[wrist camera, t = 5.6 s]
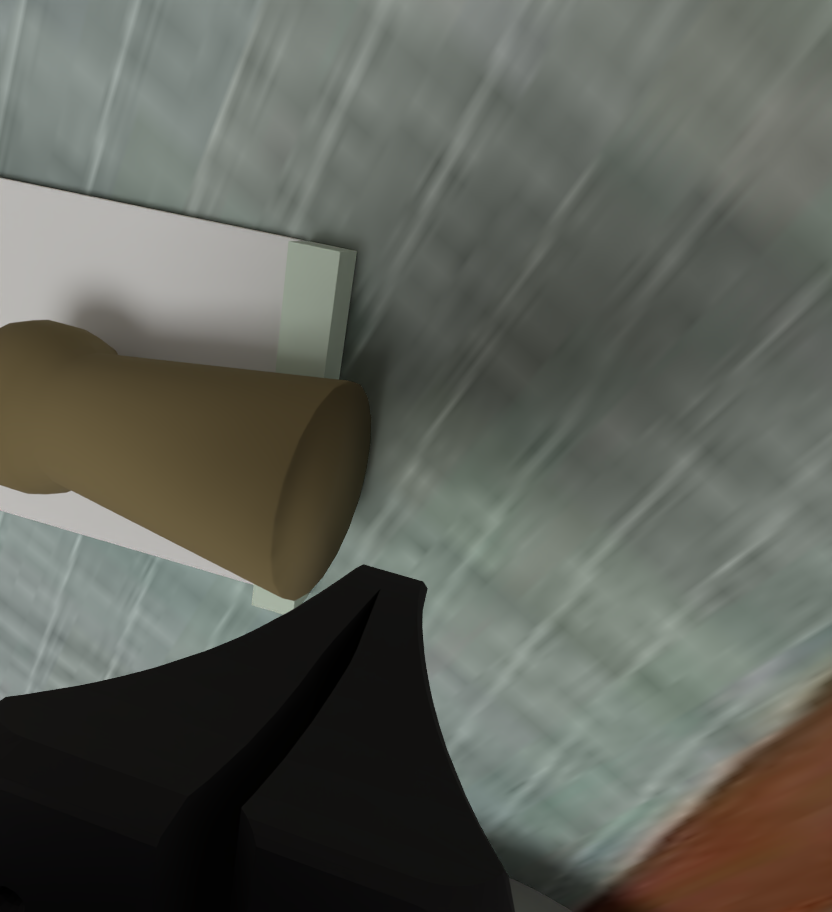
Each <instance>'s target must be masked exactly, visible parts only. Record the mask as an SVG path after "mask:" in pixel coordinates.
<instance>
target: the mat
mask: <svg viewBox="0 0 832 912" xmlns="http://www.w3.org/2000/svg"><path fill="white" fill-rule="evenodd" d="M289 241H304V240H301V239H296V238H291V237H286V236H282V235H277V234H272V233H267V232H262V231H257V230H253V229H248V228H243V227H238V226H233V225H228V224H224V223H219V222H214V221H209V220H204V219H199V218H195V217H190V216H185V215H180V214H175V213H170V212H166V211H161V210H156V209H151V208H146V207H141V206H137V205H132V204H127V203H122V202H117V201H112V200H108V199H103V198H98V197H93V196H88V195H83V194H79V193H74V192H69V191H64V190H59V189H54V188H50V187H45V186H40V185H35V184H30V183H25V182H21V181H16V180H11V179H6V178H1V177H0V328H1V327H3V326H5V325H7V324H9V323H14V322H22V321H31V320H51V321H55V322H59V323H63V324H67V325H70V326H74V327H78V328H81V329H85V330H87V331H89V332H90V333H92V334H93V335H95V336H97V337H98V338H100V339H101V340H103V341H104V342H105V343H107V344H108V345H109V346H111V347H112V348H113V349H115V350H116V352H117V353H118V355H122V356H131V357H140V358H149V359H158V360H167V361H176V362H185V363H194V364H203V365H212V366H221V367H230V368H239V369H248V370H257V371H266V372H275V371H276V361H277V351H278V341H279V331H280V321H281V311H282V302H283V292H284V282H285V272H286V262H287V252H288V242H289ZM0 510H1V511H4V512H7V513H11V514H14V515H18V516H21V517H24V518H28V519H31V520H35V521H38V522H41V523H45V524H48V525H52V526H55V527H58V528H62V529H65V530H69V531H72V532H76V533H79V534H82V535H86V536H89V537H93V538H96V539H99V540H103V541H106V542H110V543H113V544H116V545H120V546H123V547H127V548H130V549H133V550H137V551H140V552H144V553H147V554H150V555H154V556H157V557H161V558H164V559H167V560H171V561H174V562H178V563H181V564H184V565H188V566H191V567H195V568H198V569H201V570H205V571H208V572H212V573H215V574H218V575H222V576H225V577H229V578H232V579H235V580H239V581H242V582H246V583H249V584H252V585H254V584H253V583H251V582H249V581H247V580H245V579H243V578H241V577H239V576H238V575H236V574H234V573H232V572H230V571H228V570H226V569H224V568H222V567H220V566H218V565H216V564H214V563H212V562H210V561H208V560H206V559H204V558H202V557H200V556H198V555H196V554H194V553H193V552H191V551H189V550H187V549H185V548H183V547H181V546H179V545H177V544H175V543H173V542H171V541H169V540H167V539H165V538H163V537H161V536H159V535H157V534H155V533H153V532H151V531H149V530H147V529H146V528H144V527H142V526H140V525H138V524H136V523H134V522H132V521H130V520H128V519H126V518H124V517H122V516H120V515H118V514H116V513H114V512H112V511H110V510H108V509H106V508H104V507H102V506H100V505H99V504H97V503H95V502H93V501H91V500H89V499H87V498H85V497H83V496H81V495H79V494H77V493H75V492H73V491H69V492H67V493H58V494H26V493H23V492H20V491H17V490H14V489H11V488H7V487H4V486H1V485H0Z"/></svg>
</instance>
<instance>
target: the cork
mask: <svg viewBox="0 0 832 912" xmlns="http://www.w3.org/2000/svg"><path fill="white" fill-rule="evenodd" d="M370 441H371V414H370V407H369V401H368V397H367V395H366V393H365V391H364V390H363V388H362V386H361V385H360V384H357V383H354V382H352V381H347V380H338V379H329V378H320V377H311V376H302V375H293V374H284V373H275V372H266V371H257V370H248V369H239V368H230V367H221V366H212V365H203V364H194V363H185V362H176V361H167V360H158V359H149V358H140V357H131V356H122V355H118V353H117V352H116V350H115V349H113V348H112V347H111V346H109V345H108V344H107V343H105V342H104V341H103V340H101V339H100V338H98V337H97V336H95V335H93V334H92V333H90V332H89V331H87V330H85V329H81V328H78V327H74V326H70V325H67V324H63V323H59V322H55V321H51V320H31V321H22V322H14V323H9V324H7V325H5V326H3V327H1V328H0V485H1V486H4V487H7V488H11V489H14V490H17V491H20V492H23V493H26V494H58V493H67V492H69V491H73V492H75V493H77V494H79V495H81V496H83V497H85V498H87V499H89V500H91V501H93V502H95V503H97V504H99V505H100V506H102V507H104V508H106V509H108V510H110V511H112V512H114V513H116V514H118V515H120V516H122V517H124V518H126V519H128V520H130V521H132V522H134V523H136V524H138V525H140V526H142V527H144V528H146V529H147V530H149V531H151V532H153V533H155V534H157V535H159V536H161V537H163V538H165V539H167V540H169V541H171V542H173V543H175V544H177V545H179V546H181V547H183V548H185V549H187V550H189V551H191V552H193V553H194V554H196V555H198V556H200V557H202V558H204V559H206V560H208V561H210V562H212V563H214V564H216V565H218V566H220V567H222V568H224V569H226V570H228V571H230V572H232V573H234V574H236V575H238V576H239V577H241V578H243V579H245V580H247V581H249V582H251V583H253V584H255V585H257V586H259V587H261V588H263V589H265V590H267V591H269V592H271V593H273V594H275V595H277V596H279V597H281V598H283V599H288V600H292V601H295V600H297V599H299V598H301V597H302V596H304V595H306V594H308V593H309V592H310V591H311V590H312V589H313V587H314V586H315V585H316V584H317V583H318V582H319V581H320V580H321V578H322V577H323V576H324V574H325V573H326V571H327V569H328V568H329V566H330V565H331V563H332V561H333V560H334V558H335V556H336V555H337V553H338V551H339V548H340V546H341V544H342V542H343V540H344V538H345V536H346V533H347V531H348V529H349V526H350V524H351V521H352V518H353V515H354V512H355V509H356V507H357V504H358V501H359V497H360V493H361V489H362V485H363V482H364V478H365V474H366V469H367V462H368V456H369V449H370Z"/></svg>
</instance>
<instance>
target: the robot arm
mask: <svg viewBox="0 0 832 912" xmlns="http://www.w3.org/2000/svg"><path fill="white" fill-rule="evenodd" d="M426 593H427V587H426V585H425V584H424V582H423V581H419V580H416V579H412V578H409V577H405V576H402V575H398V574H395V573H391V572H388V571H384V570H381V569H377V568H374V567H370V566H367V565H361V566H359V567H357V568H356V569H354V570H353V571H351V572H350V573H348V574H347V575H345V576H344V577H343V578H341V579H340V580H338V581H337V582H335V583H334V584H332V585H331V586H329V587H328V588H326V589H325V590H323V591H322V592H320V593H319V594H317V595H315V596H314V597H312V598H310V599H309V600H307V601H306V602H304V603H302V604H301V605H299V606H298V607H296V608H294V609H293V610H291V611H289V612H287V613H286V614H284V615H282V616H280V617H278V618H276V619H274V620H273V621H271V622H269V623H267V624H265V625H263V626H261V627H260V628H258V629H256V630H254V631H252V632H249V633H247V634H245V635H243V636H241V637H239V638H236V639H234V640H232V641H229V642H227V643H224V644H222V645H220V646H217V647H215V648H212V649H209V650H207V651H204V652H201V653H198V654H195V655H192V656H189V657H186V658H183V659H180V660H177V661H174V662H171V663H168V664H165V665H162V666H159V667H155V668H152V669H148V670H144V671H141V672H137V673H133V674H129V675H125V676H121V677H117V678H112V679H108V680H104V681H99V682H95V683H90V684H85V685H80V686H74V687H68V688H62V689H56V690H50V691H43V692H37V693H31V694H25V695H18V696H10V697H5V698H4V699H2V700H1V701H0V912H515V909H514V903H513V897H512V892H511V886H510V881H509V876H508V874H507V873H506V871H505V869H504V868H503V866H502V864H501V862H500V861H499V859H498V857H497V855H496V854H495V852H494V850H493V849H492V847H491V845H490V843H489V841H488V839H487V837H486V836H485V834H484V832H483V830H482V828H481V826H480V824H479V822H478V820H477V818H476V816H475V814H474V812H473V810H472V808H471V806H470V804H469V801H468V799H467V797H466V795H465V793H464V790H463V788H462V785H461V783H460V780H459V778H458V776H457V773H456V771H455V768H454V766H453V763H452V761H451V758H450V756H449V753H448V751H447V748H446V745H445V742H444V738H443V735H442V732H441V729H440V726H439V722H438V719H437V715H436V712H435V708H434V704H433V700H432V695H431V691H430V686H429V680H428V675H427V669H426V662H425V655H424V643H423V630H422V613H423V606H424V602H425V597H426Z"/></svg>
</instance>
